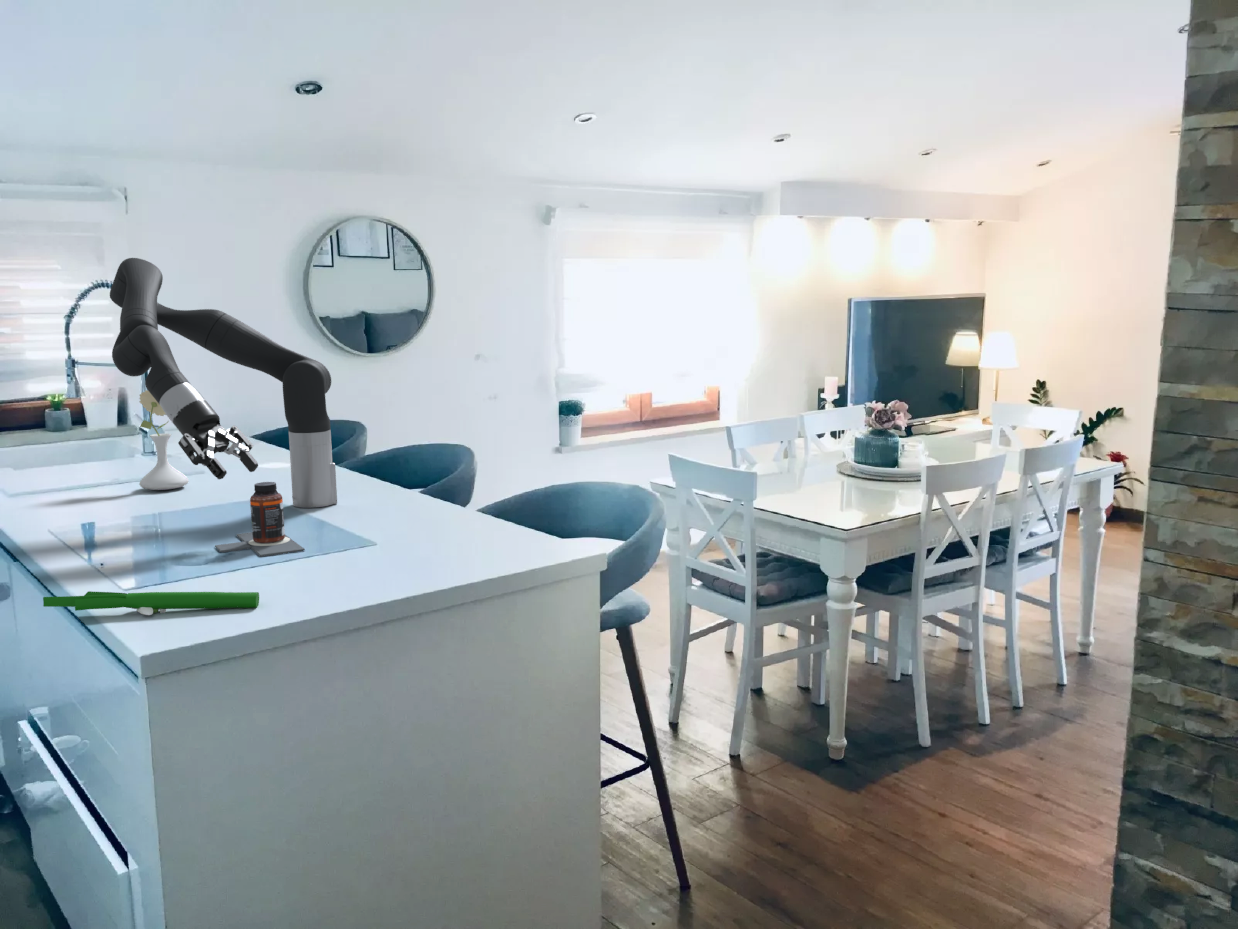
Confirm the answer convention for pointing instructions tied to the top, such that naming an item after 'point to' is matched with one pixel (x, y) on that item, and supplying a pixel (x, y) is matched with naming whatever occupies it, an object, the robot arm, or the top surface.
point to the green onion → (156, 601)
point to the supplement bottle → (267, 513)
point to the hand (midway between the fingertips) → (239, 472)
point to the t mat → (261, 546)
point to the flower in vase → (159, 453)
